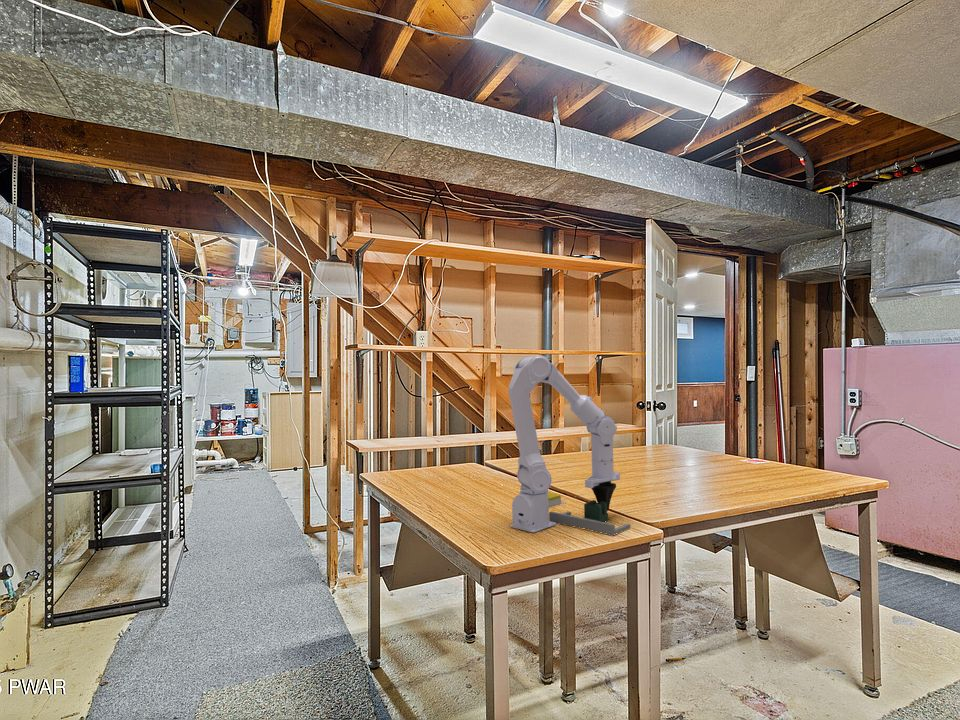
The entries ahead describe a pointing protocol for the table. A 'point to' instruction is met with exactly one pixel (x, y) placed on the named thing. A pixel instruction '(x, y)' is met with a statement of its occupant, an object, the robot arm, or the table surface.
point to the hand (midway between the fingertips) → (603, 510)
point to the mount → (596, 511)
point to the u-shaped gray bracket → (586, 523)
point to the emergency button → (554, 499)
